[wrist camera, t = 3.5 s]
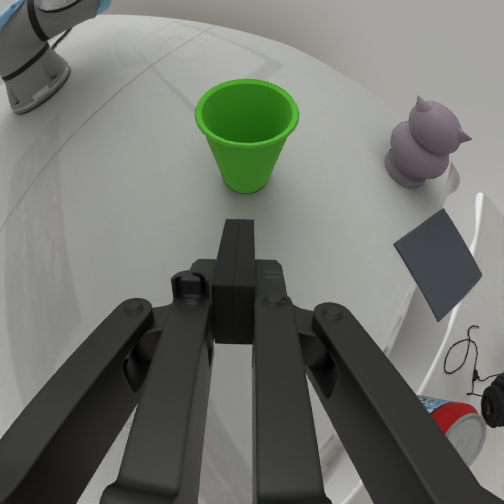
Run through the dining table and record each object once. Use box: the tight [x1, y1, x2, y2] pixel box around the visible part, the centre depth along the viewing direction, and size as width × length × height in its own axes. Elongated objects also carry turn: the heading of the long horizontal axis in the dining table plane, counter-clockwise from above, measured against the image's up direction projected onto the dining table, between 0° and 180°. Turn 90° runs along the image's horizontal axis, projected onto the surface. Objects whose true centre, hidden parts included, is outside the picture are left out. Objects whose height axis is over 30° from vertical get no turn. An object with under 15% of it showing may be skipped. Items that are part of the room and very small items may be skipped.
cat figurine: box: [385, 96, 472, 188], centre depth 29 cm, size 9×8×12 cm
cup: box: [195, 79, 299, 194], centre depth 28 cm, size 9×9×11 cm
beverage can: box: [416, 395, 486, 467], centre depth 19 cm, size 7×7×12 cm
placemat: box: [394, 208, 482, 322], centre depth 30 cm, size 11×11×1 cm
